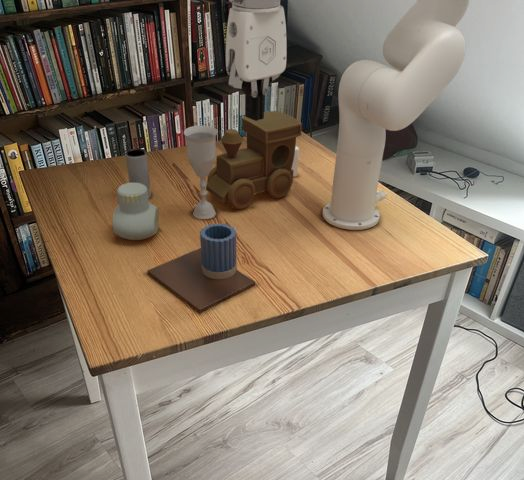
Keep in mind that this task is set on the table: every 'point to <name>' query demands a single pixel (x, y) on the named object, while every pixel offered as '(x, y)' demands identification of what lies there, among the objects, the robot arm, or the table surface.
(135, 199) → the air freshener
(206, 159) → the chalice
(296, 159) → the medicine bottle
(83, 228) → the table surface
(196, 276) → the walnut board
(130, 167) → the grey pipe
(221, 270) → the tea cup
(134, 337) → the table surface
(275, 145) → the wooden toy train
